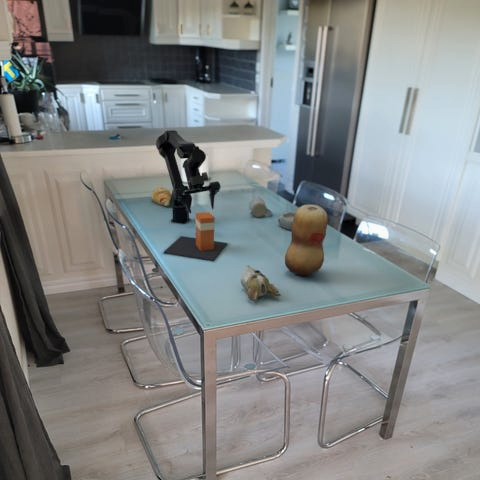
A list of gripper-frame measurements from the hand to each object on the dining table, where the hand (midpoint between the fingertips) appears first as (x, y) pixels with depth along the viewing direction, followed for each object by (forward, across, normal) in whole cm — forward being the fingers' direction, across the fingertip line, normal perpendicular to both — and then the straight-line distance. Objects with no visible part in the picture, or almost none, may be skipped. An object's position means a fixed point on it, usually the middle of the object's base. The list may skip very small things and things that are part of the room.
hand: (201, 211), depth 189 cm
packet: (+15, -3, -1) cm, 15 cm away
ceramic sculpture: (+41, +5, -33) cm, 53 cm away
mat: (+15, -6, -1) cm, 16 cm away
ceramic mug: (-1, +32, +30) cm, 44 cm away
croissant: (-22, -10, +49) cm, 55 cm away
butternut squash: (+36, +26, -23) cm, 50 cm away
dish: (+10, +43, +17) cm, 47 cm away
